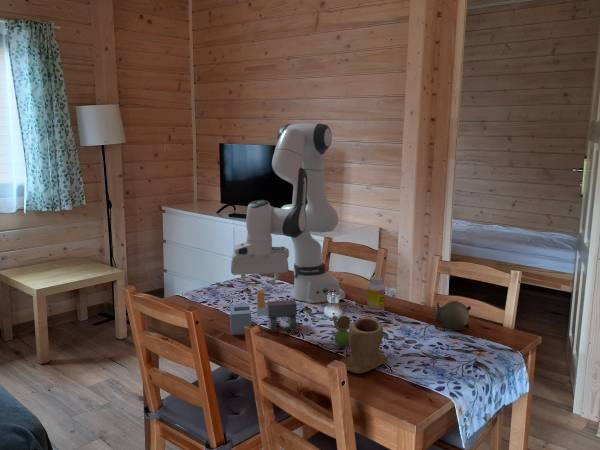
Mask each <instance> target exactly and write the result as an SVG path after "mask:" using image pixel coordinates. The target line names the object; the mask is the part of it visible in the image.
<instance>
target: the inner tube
mask: <svg viewBox="0 0 600 450" xmlns="http://www.w3.org/2000/svg"><path fill="white" fill-rule="evenodd" d="M265 295H266V294H265V290H264V289H262V290H261V289H259V290H256V316H257V317H263V316H268V315H269V306H268V304H267V303H266V301H265V300H266V296H265Z"/></svg>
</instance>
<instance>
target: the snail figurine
mask: <svg viewBox="0 0 600 450" xmlns="http://www.w3.org/2000/svg"><path fill="white" fill-rule="evenodd" d="M332 321H333V325H334V328H335V330H337V332H336V333H335V334H334V342H335V344H336V345H337V346H339V347H347V346H349V329H350V326H351V319H350V317H349V316H347V315H341V316H340V317H337V315H336V313H335V312H332Z"/></svg>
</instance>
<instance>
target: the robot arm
mask: <svg viewBox="0 0 600 450" xmlns="http://www.w3.org/2000/svg"><path fill="white" fill-rule="evenodd" d="M332 137H333V135H332V130H331V128H330V127H329V126H328V125H327V124H324V123H313V122H312V123H310V122H303V123H294V124H291V123H290V124H289V123H287V124H284V125H282V126H281V127H280V129H278V131H277V143H276V145H275V148H274V151H273V152H274V153H273V155H272V159H271V160H272V161H271V167H272V170H273V172H274V174H276V175H277V176H278V177H279V178H280V179H282V180H284V181H286V182H288V183H290V184H291V185H292V187H293V189H292V203H291V204H290V203H289V204H284V205H283V206H281V207H280V208H279V207H274V206H272V205H271V204H270V202H269V201H268V200H264V199H259V200H258V199H257V200H253V201H251V202H249V203H248V205H247V209H246V218H245V220H246V223H245V224H246V226H245V227H246V231H247V236H246V241H245V242H242V243H239V244H236V245H235V246H234V248H233V252H234V253H233V254H232V256H231V260H230V261H231V262H230V273H231V274H232V275H233V276H240V278H241V279H242V281H243V283H244V287H246V288H247V287H249V286H250V283H249V280H247V279H246V276H247V275H261V274H262V275H264V274H265V275H267V274H274V277H273V279H270V286H276V285H277V284H276V282H277V280H278V278H279V274H283V273H284V274H286V273H287V272H289V269H290V268H289V260H288V258H289V257H290V251H289V248H287V247H286V246H273V237H272V235H276V236H284V237H288V238H289V237H290V239H291V241H292V243H293V244H292V245H293V249H294V264H293V276H294V277H293V278H294V282H293V283H294V284H293V288H292V293H291V298H292V299H293V300H295V301H296V300H297V301H300V302H305V303H309V304H317V303H326V302H328V301H327V295H328V292H329V291H332V289H333V287H335V291H336V293H337V294H339V295H340V298H341V300H344V299H345V298H346V293H345V291H344V290H343V289H341V288H340V286H341V285H340V283H339V281H338V280H337V279H336V277H334V276H333V275H331V274H330V273H328V272H329V270H330V268H329V265H326V264H325V263H323V262H322V246H321V244H320V242H319V241H318V240H316V239H315V238H314V237H313V236H312V235H311V233H328V232H333V231H334V230H335V229H336V228H337V225H338V223H339V215H338V212H337V210H336V209H335V208H334V207H333V206H332V205H331V204H330V202H329V201H328V199H327V197H326V196H327V195H326V193H325V192H326V191H325V175H326V174H325V172H326V159H325V158H326V157H325V153H326V151H328V149H329V148H330V146H331V145H332V140H333V138H332ZM310 232H311V233H310Z"/></svg>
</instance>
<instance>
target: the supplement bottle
mask: <svg viewBox="0 0 600 450" xmlns="http://www.w3.org/2000/svg"><path fill="white" fill-rule="evenodd" d="M383 280H384V279H383V277H381V276H371V277H370V279H369V281H370V283H369V284H368V285H367V296H366V297H367V300H366V301H367V302H366V303H367V304H366V305H367V306H366V308H367V311H369V312H372V313H382V312H384V310H385V305H386V304H385V302H386V301H385V298H386V297H385V294H386V293H385V292H386V287H385V285H384V283H383Z"/></svg>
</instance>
